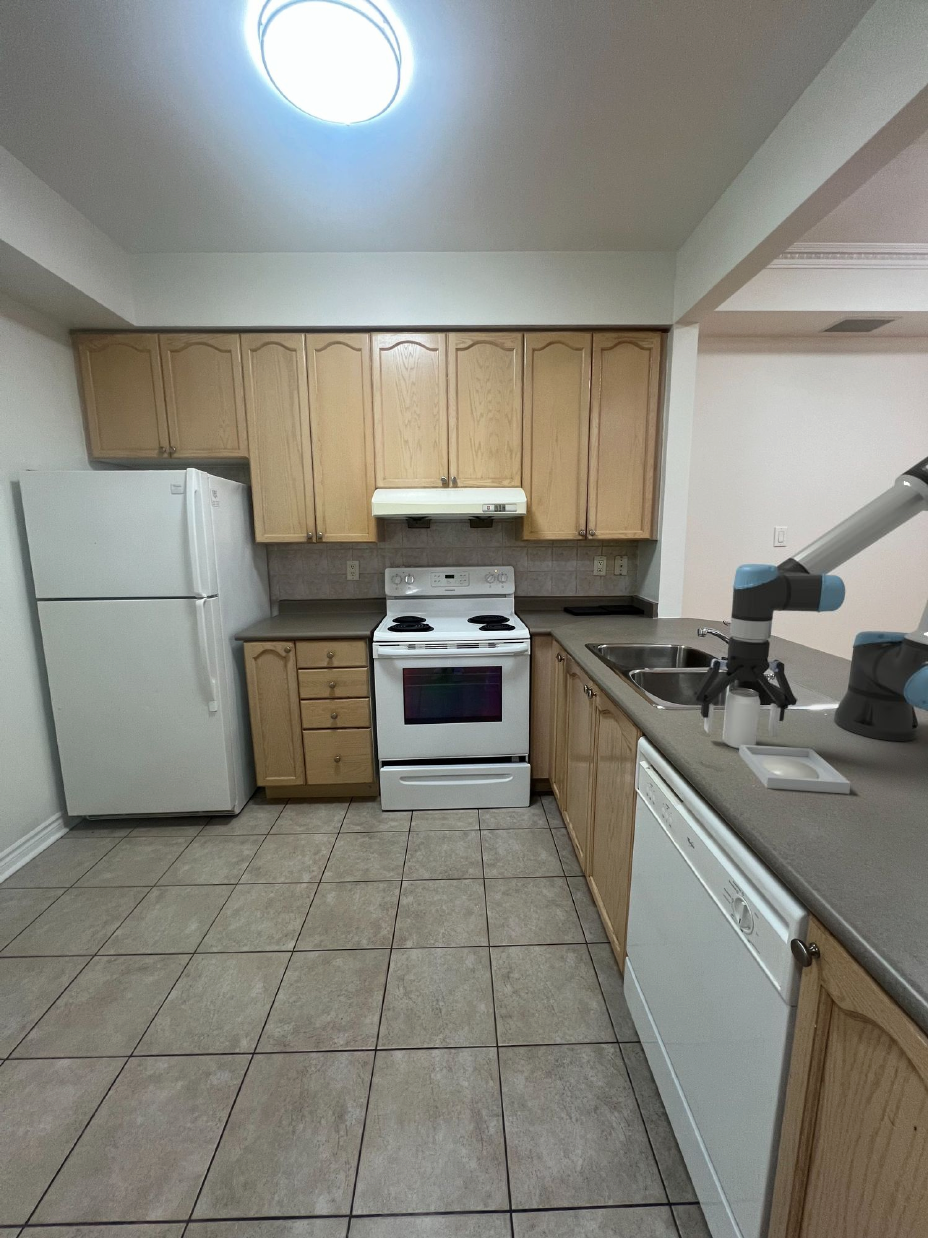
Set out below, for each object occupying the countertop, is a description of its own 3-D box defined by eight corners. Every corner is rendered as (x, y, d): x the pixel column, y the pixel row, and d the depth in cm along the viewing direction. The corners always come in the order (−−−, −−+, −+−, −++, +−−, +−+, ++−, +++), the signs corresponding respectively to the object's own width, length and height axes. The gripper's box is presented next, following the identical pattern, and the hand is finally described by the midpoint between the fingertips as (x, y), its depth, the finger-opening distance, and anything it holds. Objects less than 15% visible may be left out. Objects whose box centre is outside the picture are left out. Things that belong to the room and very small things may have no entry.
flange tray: (809, 758, 100) (811, 748, 100) (849, 793, 87) (850, 783, 87) (738, 753, 103) (739, 744, 102) (766, 788, 90) (767, 777, 89)
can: (725, 734, 112) (730, 685, 110) (758, 742, 108) (763, 690, 106) (719, 744, 107) (723, 693, 105) (752, 753, 103) (758, 699, 101)
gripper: (804, 635, 104) (793, 728, 109) (682, 632, 109) (676, 722, 113) (823, 643, 97) (810, 743, 101) (692, 640, 101) (684, 736, 105)
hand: (739, 732), depth 107 cm, fingers open, 12 cm apart
